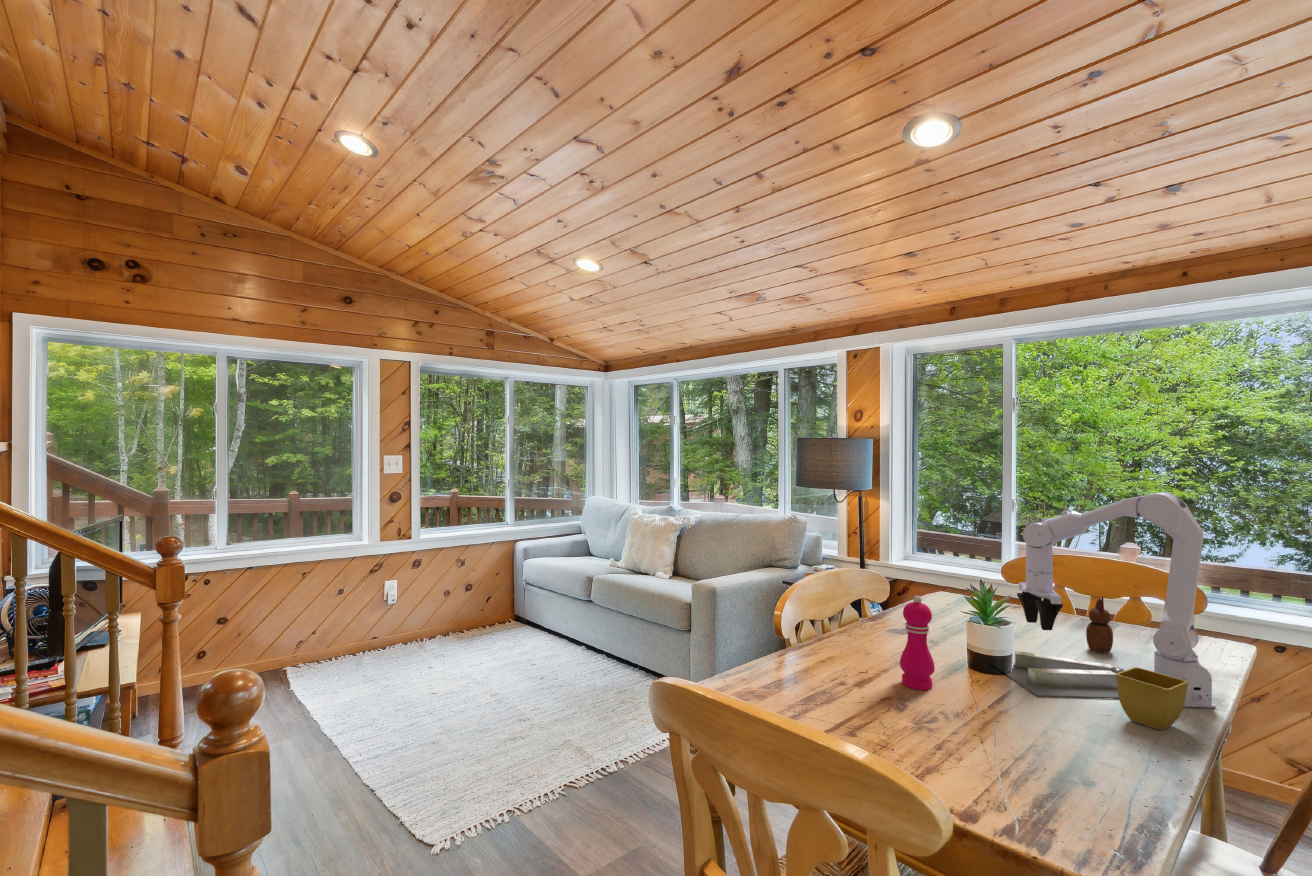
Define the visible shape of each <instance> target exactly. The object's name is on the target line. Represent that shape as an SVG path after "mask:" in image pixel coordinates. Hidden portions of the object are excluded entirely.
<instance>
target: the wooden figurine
mask: <svg viewBox="0 0 1312 876" xmlns="http://www.w3.org/2000/svg"><path fill="white" fill-rule="evenodd" d="M1104 604H1105V603H1104V596H1103V595H1102V596H1099V598H1098V599H1097V601H1096V602H1095V607H1094V608H1091V609H1089V613H1088V618H1089V620H1090V622H1089V623H1088V624H1087V625H1086V630H1085V631H1086V632H1085V635H1086V636H1085V637H1086V644H1087V646H1088V649H1089V650H1091V651H1092V652H1094V653H1098V654H1109V653H1110V652H1111V651H1112V649H1113V644H1114V632H1113V628H1112V627H1111V625H1109V623H1110V622H1111V614H1110V612H1109V610H1106V609H1105V605H1104Z"/></svg>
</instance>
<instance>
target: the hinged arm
mask: <svg viewBox="0 0 1312 876" xmlns="http://www.w3.org/2000/svg"><path fill="white" fill-rule="evenodd" d="M1014 663H1015V666H1016V667H1021V668H1041V669H1068V670H1106V671H1111V672H1113V673H1115V674H1117V673H1119V672H1122V671H1125V669H1123V668H1122V667H1118V666H1117V667H1116V666H1112V665H1111V664H1109V663H1103V662H1102V663H1101V662H1096V661H1095V662H1094V661H1087V660H1079V659H1074V658H1067V657H1059V656H1053V655H1044V654H1038V653H1032V652H1026V651H1025V652H1024V651H1020V650H1014Z"/></svg>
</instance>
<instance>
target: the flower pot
mask: <svg viewBox="0 0 1312 876" xmlns="http://www.w3.org/2000/svg"><path fill="white" fill-rule="evenodd" d="M1124 670H1125V669H1124ZM1116 679H1117V687H1118V695H1119V699H1118V700H1119V703H1120V705H1121V707H1122V710H1123V711H1124V713H1125V714H1126V716H1127V717H1128V719H1129V720H1130V721H1132V722H1135V723H1138V724H1141V725H1144V726H1145V727H1149V728H1151V729H1155V730H1157V729H1158V730H1157V731H1163V730H1165V729H1167V728H1169V727H1171V726H1172V725H1173V724H1174V723H1175V722H1176V721H1177V720H1178V719H1179V717H1180V716H1181V715H1182V712H1183V710H1184V708H1185V707H1184V704H1185V698H1186V693H1187V687H1188V681H1184V680H1181V679H1178V678H1175V677H1171V676H1168V675H1164V674H1160V673H1157V672H1154V671H1153V670H1150V669H1145V668H1142V667H1137V666H1135V667H1131V668H1129V669H1126V670H1125V671H1122V672H1119V673H1117V674H1116Z"/></svg>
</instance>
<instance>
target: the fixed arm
mask: <svg viewBox="0 0 1312 876" xmlns="http://www.w3.org/2000/svg"><path fill="white" fill-rule="evenodd" d="M1028 682H1030V683H1031V684H1033V685H1034V686H1059V687H1095V688H1117V679H1116V674H1115V673H1113V672H1111V671H1106V670H1068V669H1041V668H1028Z"/></svg>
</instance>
